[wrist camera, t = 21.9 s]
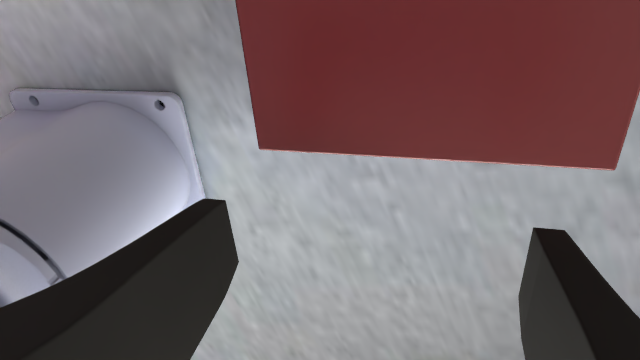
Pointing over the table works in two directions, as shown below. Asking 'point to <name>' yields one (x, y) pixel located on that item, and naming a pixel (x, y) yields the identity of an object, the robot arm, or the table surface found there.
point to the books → (445, 78)
